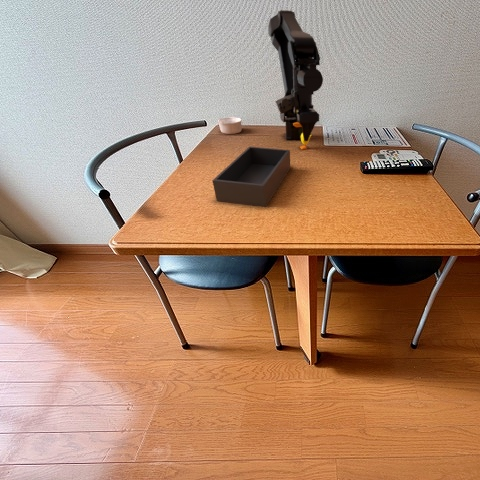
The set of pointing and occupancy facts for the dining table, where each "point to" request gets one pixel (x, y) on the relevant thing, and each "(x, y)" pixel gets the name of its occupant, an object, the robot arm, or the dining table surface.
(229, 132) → the ramekin
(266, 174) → the bin
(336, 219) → the dining table surface
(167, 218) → the dining table surface
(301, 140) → the toy figure
